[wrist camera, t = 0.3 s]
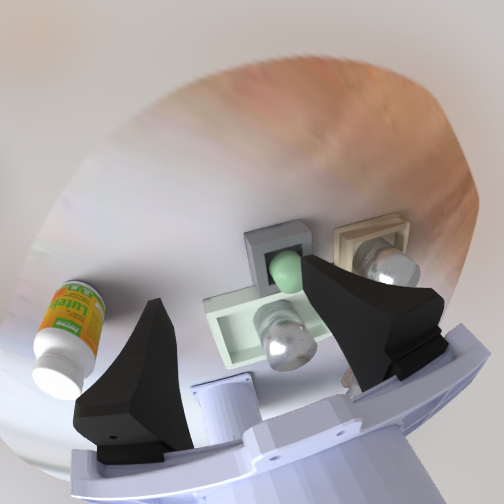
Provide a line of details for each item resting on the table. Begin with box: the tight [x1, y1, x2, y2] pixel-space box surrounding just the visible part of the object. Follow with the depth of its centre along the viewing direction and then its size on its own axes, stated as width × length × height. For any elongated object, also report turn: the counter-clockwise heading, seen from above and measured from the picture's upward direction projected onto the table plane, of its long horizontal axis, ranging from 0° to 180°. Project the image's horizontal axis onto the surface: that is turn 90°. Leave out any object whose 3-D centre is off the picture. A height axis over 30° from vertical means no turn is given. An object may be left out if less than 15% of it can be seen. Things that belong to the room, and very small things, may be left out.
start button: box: [269, 250, 303, 294], centre depth 21 cm, size 3×3×2 cm
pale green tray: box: [203, 286, 333, 370], centre depth 27 cm, size 9×13×2 cm
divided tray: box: [334, 213, 410, 275], centre depth 28 cm, size 14×8×2 cm, turn 9°
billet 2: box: [353, 237, 420, 287], centre depth 24 cm, size 5×5×6 cm
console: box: [244, 219, 313, 297], centre depth 23 cm, size 5×5×2 cm
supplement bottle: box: [33, 281, 105, 401], centre depth 17 cm, size 5×5×10 cm
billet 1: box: [253, 299, 317, 372], centre depth 25 cm, size 5×5×6 cm
